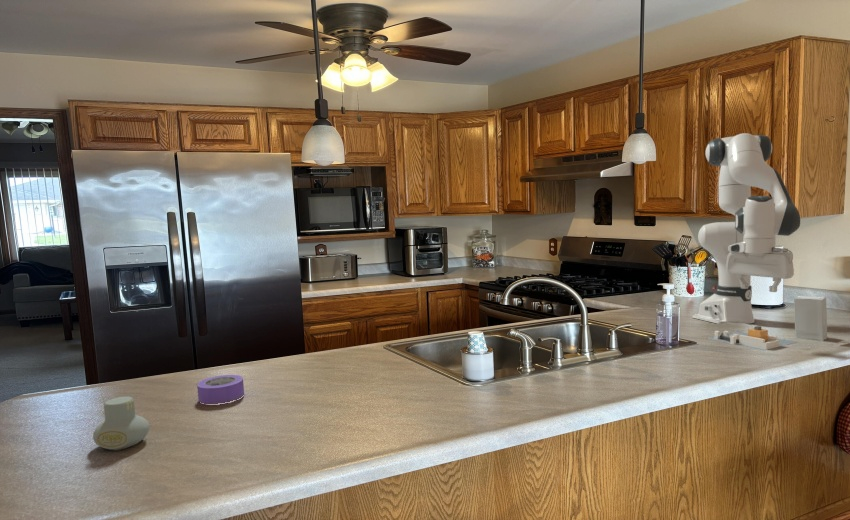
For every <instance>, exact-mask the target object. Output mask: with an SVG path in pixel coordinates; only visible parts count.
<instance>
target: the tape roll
mask: <svg viewBox="0 0 850 520" xmlns="http://www.w3.org/2000/svg"><path fill="white" fill-rule="evenodd" d="M196 386H197V398H198V403H199V402H201V403H204V404H218V403H225V402H230V401H233V400H237V399H239V398H241V397H242V396H243V395H244V396H245V387H244V378H243V376H241V375H238V374H221V375H217V376H211V377H207V378H205V379H204V378H203V379H202V380H200V381H199V382H198V383H197V384H196Z"/></svg>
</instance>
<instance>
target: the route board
mask: <svg viewBox="0 0 850 520" xmlns="http://www.w3.org/2000/svg"><path fill="white" fill-rule="evenodd" d="M713 335H714V336H713V337H709V338H708V337H707V338H706V340H710V341H715V342H719V343H720V342H722V343H726V344H730V345H734V346H739V347H745V348H749V349H754V350H759V351H767V350H771V349H775V348H781V347H784V346H789V345H792V344H796V343H798V341H793V340H789V339H788V340H787V339H783V338H778V336H777V335H771V334H768V342H765V339H761V338H755V337H750V336H748V332H745V331H744V332H743V331H737V332H732V333H730V331H728V330H723V332H722V333H721V331H719V330H715V331H714V334H713Z"/></svg>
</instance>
